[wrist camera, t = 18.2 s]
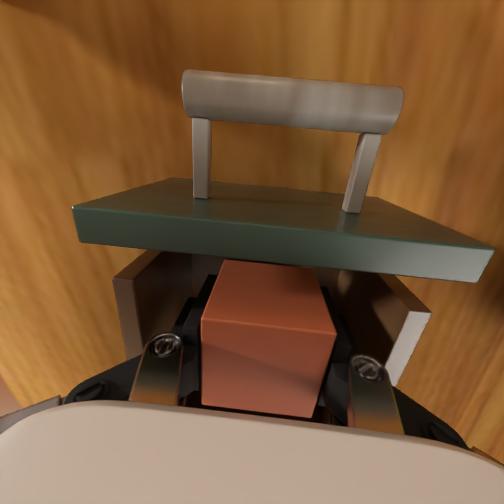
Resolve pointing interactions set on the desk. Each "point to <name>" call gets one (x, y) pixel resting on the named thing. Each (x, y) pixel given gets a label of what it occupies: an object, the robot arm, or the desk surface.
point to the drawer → (280, 223)
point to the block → (265, 339)
